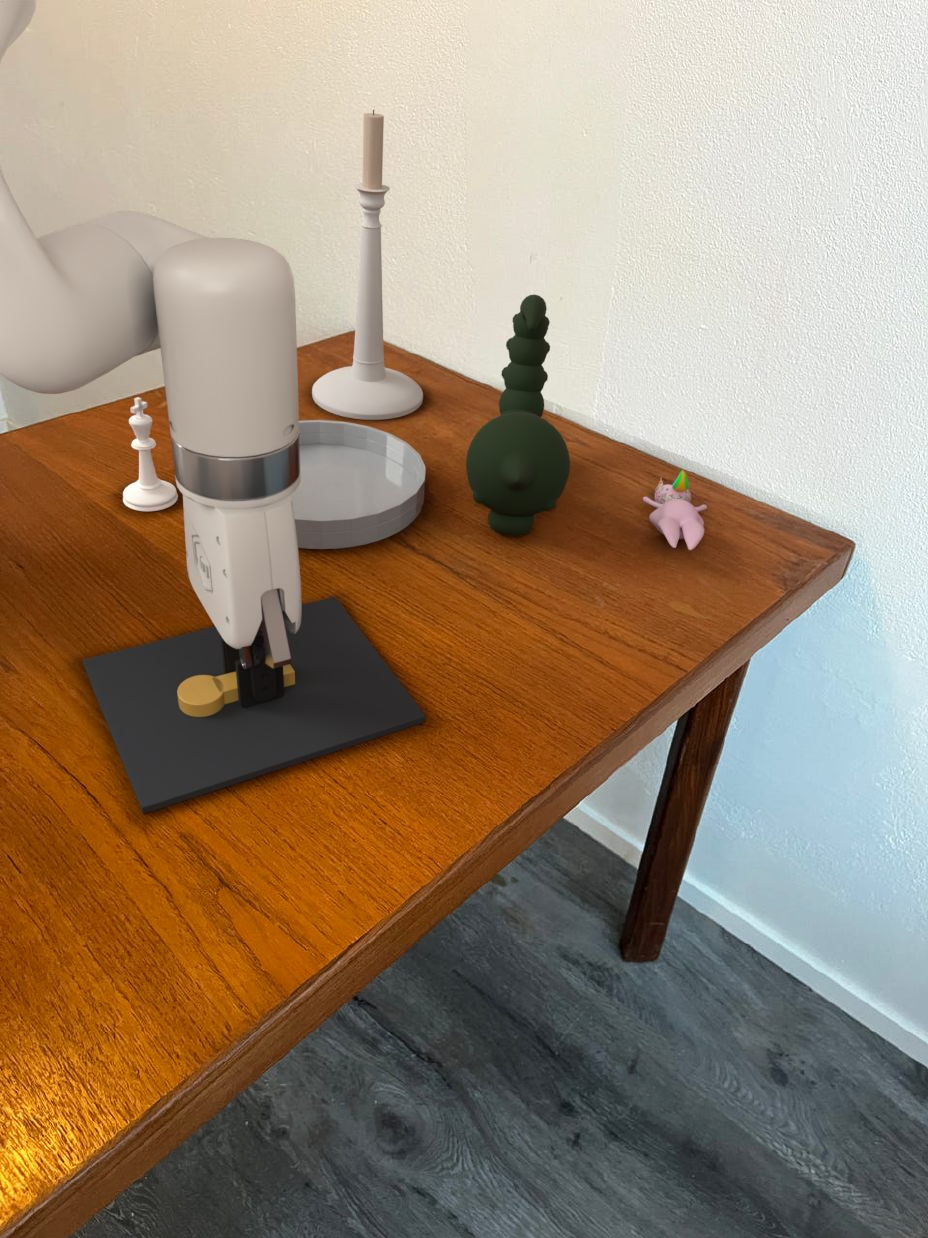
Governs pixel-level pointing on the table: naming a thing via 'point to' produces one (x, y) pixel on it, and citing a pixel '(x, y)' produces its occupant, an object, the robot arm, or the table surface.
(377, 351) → the candlestick
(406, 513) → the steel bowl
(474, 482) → the toy figurine
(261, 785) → the table surface
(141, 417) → the chess piece
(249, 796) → the table surface
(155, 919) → the table surface
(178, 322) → the robot arm
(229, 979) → the table surface
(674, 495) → the pink stuffed animal
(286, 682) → the brass key
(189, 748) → the felt mat
